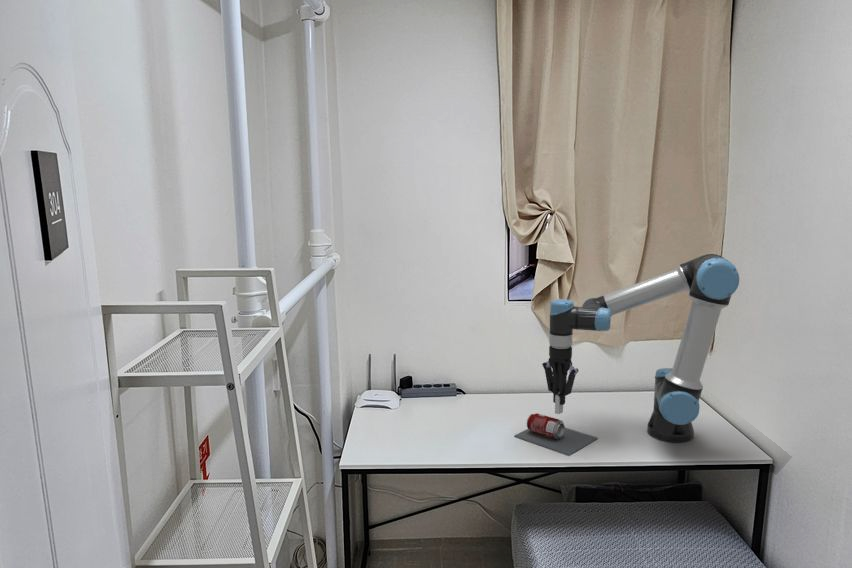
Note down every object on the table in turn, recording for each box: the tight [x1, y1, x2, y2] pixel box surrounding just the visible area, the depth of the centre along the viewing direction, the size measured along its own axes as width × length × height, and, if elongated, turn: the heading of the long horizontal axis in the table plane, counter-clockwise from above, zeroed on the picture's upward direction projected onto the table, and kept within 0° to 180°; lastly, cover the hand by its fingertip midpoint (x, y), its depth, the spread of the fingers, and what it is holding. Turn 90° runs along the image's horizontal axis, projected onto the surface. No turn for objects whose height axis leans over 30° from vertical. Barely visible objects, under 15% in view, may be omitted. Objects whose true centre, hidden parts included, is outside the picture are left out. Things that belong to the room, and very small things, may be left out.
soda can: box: [526, 413, 566, 440], centre depth 217 cm, size 7×7×12 cm
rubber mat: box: [513, 427, 599, 457], centre depth 216 cm, size 22×18×1 cm
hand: (558, 412), depth 214 cm, fingers closed
